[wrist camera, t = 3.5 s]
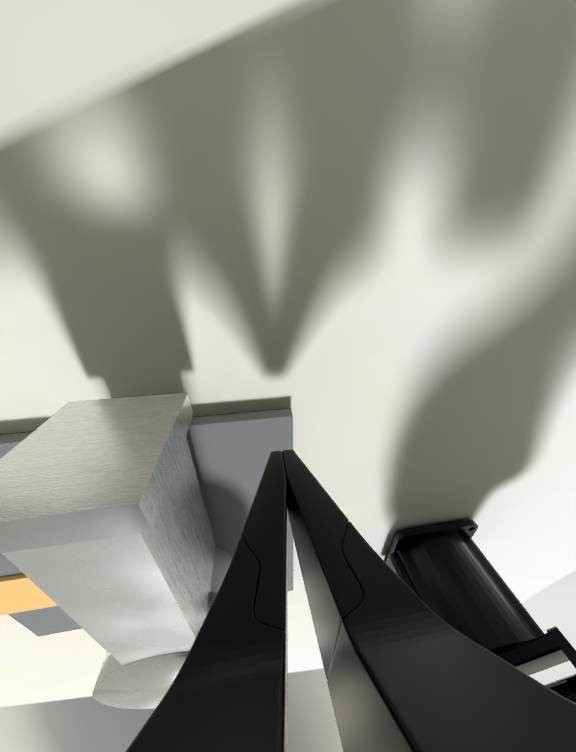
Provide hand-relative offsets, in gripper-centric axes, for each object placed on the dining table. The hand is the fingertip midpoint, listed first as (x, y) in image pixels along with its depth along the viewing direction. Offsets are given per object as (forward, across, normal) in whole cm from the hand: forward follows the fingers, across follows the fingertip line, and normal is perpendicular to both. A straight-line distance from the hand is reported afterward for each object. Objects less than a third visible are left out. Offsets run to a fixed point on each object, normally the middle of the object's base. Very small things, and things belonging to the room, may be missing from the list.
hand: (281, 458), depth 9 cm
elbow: (+1, +5, +6) cm, 8 cm away
